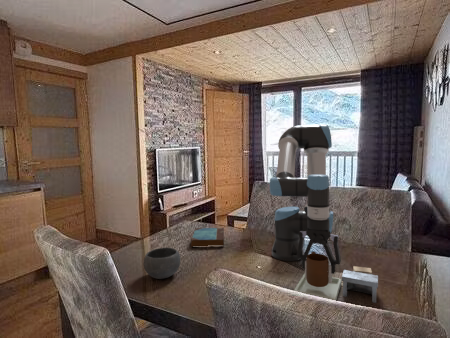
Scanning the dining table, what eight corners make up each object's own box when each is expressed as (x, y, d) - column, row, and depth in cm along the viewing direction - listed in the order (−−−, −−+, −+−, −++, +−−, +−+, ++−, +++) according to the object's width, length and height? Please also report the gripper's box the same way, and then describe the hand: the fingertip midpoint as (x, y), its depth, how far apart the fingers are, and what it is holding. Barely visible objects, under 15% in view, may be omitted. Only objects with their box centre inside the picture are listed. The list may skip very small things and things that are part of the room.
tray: (293, 296, 99) (293, 290, 99) (305, 276, 114) (305, 272, 114) (335, 305, 93) (335, 299, 93) (341, 283, 107) (341, 278, 107)
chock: (353, 286, 106) (353, 270, 105) (353, 281, 109) (353, 266, 109) (371, 288, 103) (371, 272, 103) (370, 283, 107) (370, 268, 107)
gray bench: (341, 295, 99) (341, 276, 98) (344, 285, 106) (344, 267, 106) (377, 303, 93) (377, 282, 93) (378, 291, 101) (378, 272, 100)
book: (224, 248, 151) (223, 239, 151) (191, 249, 151) (190, 240, 151) (224, 235, 174) (223, 227, 174) (195, 236, 174) (195, 228, 174)
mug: (302, 272, 110) (302, 248, 109) (322, 272, 109) (322, 249, 108) (308, 287, 98) (308, 261, 97) (331, 288, 97) (331, 261, 97)
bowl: (163, 287, 108) (162, 262, 108) (136, 279, 116) (135, 255, 116) (188, 272, 121) (187, 249, 120) (162, 266, 129) (161, 244, 128)
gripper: (287, 217, 103) (288, 278, 105) (347, 222, 93) (347, 290, 95) (292, 213, 110) (293, 270, 111) (350, 217, 100) (350, 280, 101)
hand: (318, 279), depth 103 cm, fingers closed on mug, 8 cm apart
